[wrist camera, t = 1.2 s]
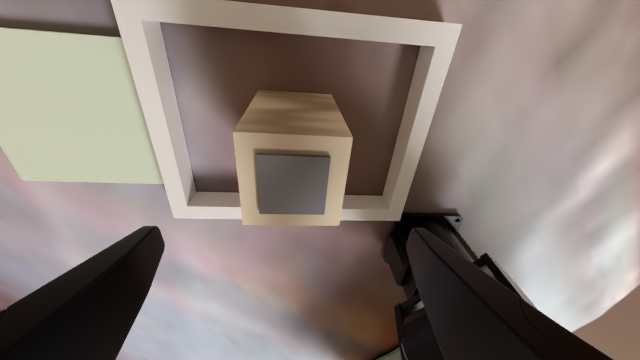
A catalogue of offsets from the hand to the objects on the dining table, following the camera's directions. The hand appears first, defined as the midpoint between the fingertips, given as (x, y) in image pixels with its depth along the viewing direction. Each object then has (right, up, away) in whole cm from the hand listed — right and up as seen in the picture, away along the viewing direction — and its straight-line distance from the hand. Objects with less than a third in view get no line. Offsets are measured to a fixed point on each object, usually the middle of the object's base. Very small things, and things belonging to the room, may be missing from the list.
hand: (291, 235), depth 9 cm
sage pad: (-16, +6, +8) cm, 19 cm away
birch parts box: (-1, +6, +9) cm, 11 cm away
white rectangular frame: (-1, +6, +9) cm, 11 cm away
